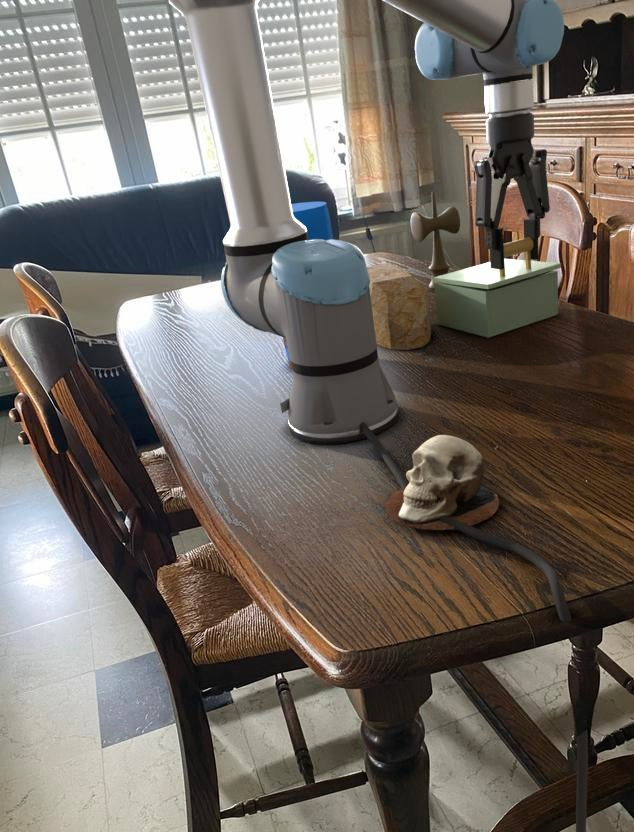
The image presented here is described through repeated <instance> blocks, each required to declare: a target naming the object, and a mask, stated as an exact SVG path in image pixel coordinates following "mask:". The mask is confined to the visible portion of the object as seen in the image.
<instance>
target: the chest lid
mask: <svg viewBox="0 0 634 832" xmlns="http://www.w3.org/2000/svg"><path fill="white" fill-rule="evenodd" d="M533 247H534V242H533V240H532V238H530V237H528V238H524V237H523V238H520V239H516V240H513V241H509V242H506V243H504V268H505V269H502V270H500V269H494V268H491V263H490V261H488V262H484V263H481V264H476V265H474V266H469V267H467V268H463V269H459V270H455V271H452V272H448V274H445V275H441V276H437V277H434V282H438V283H446V284H453V285H460V286H468V287H475V288H482V289H492V288H495V287H498V286H502V285H505V284H508V283H512V282H515V281H519V280H522V279H525V278H529V277H532V276H535V275H539V274H542V273H545V272H549V271H552V270H554V271H557V270H559V269H561V268H562V263H561V262H550V261H537V260H531V251H530V250H532V249H533ZM524 252H525V253H524ZM523 253H524V259H515V258H508V257H511V256H516V255H519V254H523Z"/></svg>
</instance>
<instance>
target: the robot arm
mask: <svg viewBox="0 0 634 832" xmlns="http://www.w3.org/2000/svg"><path fill="white" fill-rule="evenodd" d="M382 1H383V2H385V3H386V4H388V5H390V6H392V7H394V8H396V9H398V10H400V11H402V12H404V13H406V14H407V15H409V16H411V17H413V18H415V19H416V20H418V21H421V22H422V24H421V25H420V27H419V28H418V31H417V33H416V37H415V40H414V41H415V42H414V51H415V52H414V53H415V61H416V65H417V67H418V69H419V71H420V73H421V74H422V75H423V76H424V77H425V78H426V79H428V80H430V81H431V80H433V81H435V80H436V81H438V80H442V81H446V80H450V79H455V78H462V77H463V78H464V77H470V76H475V75H476V76H477V75H482V76H483V89H484V109H485V111H484V113H485V114H486V115H489V117H488V118H487V119H486V121H485V133H486V143H487V144H488V145H489V152H488V155H487V157H486V158H484V159H482V160H476V161H474V163H473V168H474V172H475V176H476V177H475V178H476V184H475V189H476V190H475V214H474V215H475V216H474V217H475V218H474V225H475V226H476V227H480V228H482V229H485V236H486V248H487V250H489V262H490V263H491V268H494V269H500V270H502V269H505V268H504V259H505V258H504V244H505V243H504V228H503V227H500V222H501V218H502V212H503V210H504V209H503V208H504V203H505V198H506V194H507V190H508V186H510V185H511V181H512V179H513V180H514V182H516V185H517V189H518V191H519V194H520V198H521V201H522V204H523V207H524V210H525V213H526V217H527V218H524V219H523V239H524V238H528V237H530V238H532V240H533V242H534V247H533V249H532V250H530V251H531V261H537V260H539V259H540V258H539V256H540V255H539V238H540V237H541V219H545V217H546V213H549V212H550V209H551V206H550V197H549V196H550V195H549V186H548V175H547V166H546V164H547V157H548V150H547V149H545V148H543V149H539V148H538V149H535V148H534V146H533V144H532V139H534V137H535V115H534V114H533V112H531V110H532V109H533V108H534V107H535V103H534V102H535V101H534V100H535V99H534V74H533V73H534V70H533V67H535V66H539V65H543V64H547V63H549V62H550V61H551V60H553V59H554V58H555V57H556V55H557V54H558V53H559V51H560V49H561V46H562V42H563V37H564V34H565V20H564V16H563V12H562V10H561V8H560V6H559V4H558V3H557V1H555V0H382ZM259 2H260V0H168V3H169V5H171V6H172V7H174V8H175V9H176V10H177V11H178V12H179V13H180V14H181V15H182V16H183V17H184V19H185V22H186V27H187V31H188V36H189V40H190V45H191V50H192V54H193V59H194V63H195V68H196V72H197V77H198V83H199V86H200V91H201V95H202V100H203V104H204V109H205V114H206V117H207V123H208V128H209V133H210V136H211V141H212V146H213V150H214V155H215V159H216V164H217V169H218V173H219V177H220V183H221V186H222V187H221V188H222V192H223V195H224V201H225V205H226V211H227V215H228V219H229V225H230V227H229V230H228V232H227V233H226V235H225V236H224V238H223V240H222V244H223V249H224V253H225V254H224V255H225V259H226V262H225V264H224V267H223V268H222V271H221V277H220V286H221V287H220V288H221V293H222V295H223V299H224V301H225V303H226V305H227V307H228V308H229V310H230V311H231V312H232V314H233V315H234V316H235V317H236V318H238V319H239V320H240V321H242V322H244V323H245V324H246V325H247V326H250V327H251V328H253V329H254V330H258V331H261V332H265V333H270V334H273V335H276V336H278V337H281V338H283V337H284V338H286V341H287V346H288V351H289V357H290V362H291V367H292V369H291V372H292V380H291V385H290V386H291V387H290V395H289V397H288V399H286V400H284V401H282V402H280V403H279V405H280V410H281V414H284V413H285V412H287V423H288V428H289V432H290V434H291V435H292V436H293V437H294V438H296V439H298V440H299V441H300V440H301V441H302V442H307V443H311V444H320V445H321V444H323V445H325V444H326V445H327V444H328V445H329V444H332V445H333V444H343V443H350V442H356V441H360V440H364V439H366V438H367V439H368V440H369V443H371V444H372V447H374V448H375V450H376V451H377V452H378V454H379V456H380V457H381V459H382V460H383V461H384V463H385V464H386V466H387V467H388V469H389V471H390V472H391V473H392V476H393V477H394V478H395V480H396V481H397V483H398V485H399V487H400V488H401V489H402V490H403V492H404V490H405V488H406V487H407V486H408V484H409V481H408V480H407V478H406V476H405V475H404V474H403V472H402V471H401V470H400V468H399V467H398V465H397V464H396V462H395V460H393V458H392V456H391V455H390V453H389V452H388V451H387V449H386V448H385V446H384V445H383V444H382V442H381V441H380V440H379V438H378V437H377V436H376V435H378V434H380V433H382V432H384V431H386V430H387V429H389V428H390V427H392V426H393V425H394V424H395V423H397V421H398V419H399V417H400V416H399V415H400V413H399V405H398V401H397V398H396V395H395V393H394V391H393V389H392V387H391V385H390V382H389V381H388V378H387V376H386V374H385V371H384V369H383V368H382V366H381V363H380V361H379V360H380V359H379V353H378V344H376V336H375V328H374V320H373V312H372V303H371V295H370V287H369V285H370V277H369V274H368V271H367V267H368V266H367V263H366V259H365V255H364V253H363V252H362V250H361V249H360V248H359V247H358V246H357V245H355V244H353V243H350V242H347V241H344V240H340V239H333V240H331V239H330V240H323V239H313V240H309V239H308V233H307V229H306V227H305V226H304V225H303V224H301V223H300V222H299V221H298V220H296V219H295V218H294V216H293V212H292V207H291V204H292V203H291V202H292V201H291V196H290V189H289V184H288V180H287V179H288V178H287V173H286V168H285V163H284V157H283V151H282V145H281V140H280V133H279V128H278V123H277V117H276V111H275V106H274V101H273V100H274V99H273V94H272V89H271V84H270V77H269V71H268V66H267V60H266V54H265V49H264V43H263V38H262V32H261V27H260V22H259V16H258V15H259V14H258V10H257V9H258V8H257V7H258V4H259ZM523 253H524V254H525V252H523ZM439 521H441V522H444V523H446V524H448V525H451V526H454V527H456V528H457V529H455V530H454V531H458V532H460V533H463V534H465V535H467V536H469V537H471V538H474V539H475V540H478V541H480V542H482V543H485V544H488V545H489V546H494V547H496V548H499V549H502V550H504V551H508V552H510V553H513V554H515V555H517V556H520V557H521V558H523V559H525V560H527V561H529V562H530V563H532V564H533V565H534V566H535V567H537V568H538V569H539V570H540V571H541V572H542V573H543V574H544V576H545V577H546V579H547V582H548V584H549V588H550V591H551V594H552V598H553V602H554V604H555V608H556V611H557V614H558V618H559V620H560V621H562V622H563V623H570V622H571V621H572V616H571V612H570V609H569V607H568V604H567V600H566V597H565V594H564V590H563V586H562V583H561V579H560V576H559V574H558V572H557V571H556V570H555V568H554V567H553V566H552V565H551V564H550V563H548V561H546V560H545V559H544V558H543V557H541V556H540V555H539V554H537V553H536V552H535V551H533V550H531V549H529V548H527V547H525V546H523V545H522V544H519V543H516V542H513V541H511V540H508V539H505V538H502V537H500V536H497V535H494V534H490V533H488V532H486V531H483V530H480V529H478V528H476V527H474V526H469V525H467V524H465V523H462V522H460V521H457V520H455V519H452V518H450V517H448V516H445V515H443V516H441V517H440V518H439ZM588 744H589V743H588V729H586V730H584V731H582V732H581V733H580V734H578V736H576V791H575V792H576V793H575V796H576V799H575V832H587V805H588V803H587V802H588V773H589V772H588V764H589V761H588V760H589V758H588V757H589V750H588V749H589V748H588V747H589V746H588Z"/></svg>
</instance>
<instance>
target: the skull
mask: <svg viewBox="0 0 634 832" xmlns="http://www.w3.org/2000/svg"><path fill="white" fill-rule="evenodd" d="M411 457H412V463H413V468H412V469H409V470H408V471H407V472H406V473H405V479H406V480H407V482H408V486H407V487H406V488H405V490H404V492H403V490H402V489H401V487H400V488H399V489H397V490H395V491H393V492H392V493H391V494H390V495H389V496H388V497H387V499H386V501H385V503H384V509H385V512H386V513H387V515H388V516H389V517H390V518H391V519H392V520H393V521H395V522H397V523H399V524H400V525H402V526H405V527H407V528H411V529H412V528H413V529H419V530H430V531H445V530H447V531H449V530H453V531H456V530H455V529H457V528H456V527H454V526H451V525H448V524H446V523H444V522H441V521H439V518H440V517H441V516H443V515H445V516H448V517H450V518H452V519H455V520H457V521H460V522H462V523H465V524H467V525H469V526H471V527H473V526H475V525H477V524H480V523H482V522H483V523H484V521H486V520H488V519H490V518H491V517H493V515H494V514H495V513H496V512H497V511H498V509H499V506H500V499H499V496H498V495H497V493H496V492H494V491H493V490H491V489H490V488H489V487H488V488H487V486H485V485H483V480H484V475H485V465H484V460H483V459H484V458H483V454H481V452H479V450H478V449H477V448H476V447H475V446H474V445H472V444H471V443H469V442H468V441H466V440H464V439H462V438H459V437H456V436H453V435H448V434H438V435H435V436H432V437H430V438H429V439H427V440H426V441H424V442H423V443H422V444H421V445H419V447H417V448H416V450H414V452H413V453H412V456H411Z"/></svg>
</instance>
